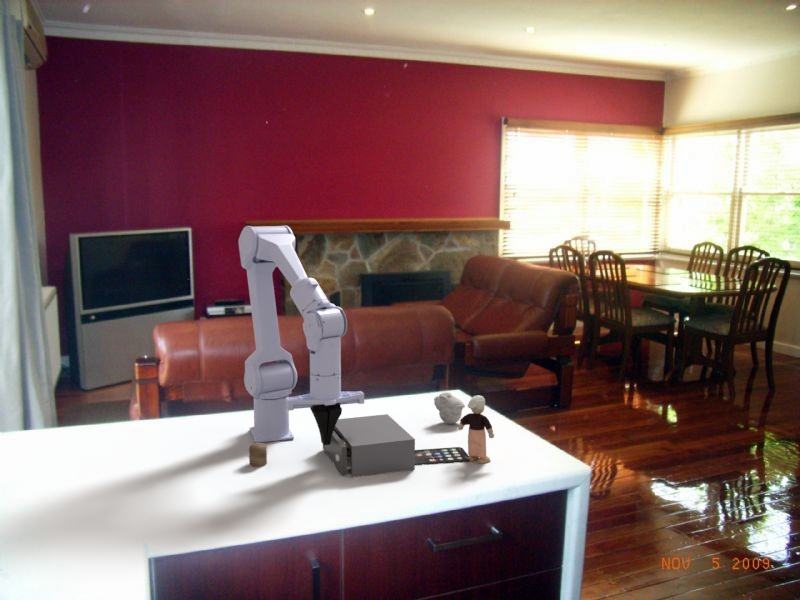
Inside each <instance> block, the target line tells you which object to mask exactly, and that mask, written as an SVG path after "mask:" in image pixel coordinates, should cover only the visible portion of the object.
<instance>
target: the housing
mask: <svg viewBox="0 0 800 600" xmlns="http://www.w3.org/2000/svg"><path fill="white" fill-rule="evenodd" d="M334 431H335V433H336V434H337V435H338V436H339V438H340V439H341V438H342V439H343V440H344V441H345V442H346V444H347V445H348V446H349V447H350V449H351V469H347V473H349V475H350V477H351V478H357V477H358V478H359V477H365V476H373V475H374V476H375V475H380V474H381V475H382V474H390V473H396V472H406V471H411V470H412V469H413V470H415V468H416V465H415V450H416V439H415V438H414V437H413V436H412V435H411V434H410V433H409V432H408V431H406V429H404V428H403V427H402V426H401V425H400V424H399V423H398V422H397V421H396V420H395V419H394V418H392V417H391V416H390V415H389V414H387V413H385V414H378V415H377V414H376V415H368V416H367V415H365V416H358V417H357V416H355V417H348V418H346V417H345V418H339V419H338V421H337V423H336V425H335V428H334Z"/></svg>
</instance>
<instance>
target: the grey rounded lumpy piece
mask: <svg viewBox="0 0 800 600" xmlns="http://www.w3.org/2000/svg"><path fill="white" fill-rule="evenodd" d="M433 401H434V402H433V403H434V406H435V408H436V409H437V410H438V411H439V417H440V419H441V421H442V422H444V423H445V424H448V425H454V424H456V423H458V422H460V420H461V419H462V415H463V413H462V411H463V409H464V408H465V407H466V406H465V405H466V404H465V403H464V402H463V401H462V400H461V399H459V398H457V397H456V396H454V395H453V394H452V393H451V392H446V391H445V392H441V393H440V394H439V395H437V396H435V397H434V398H433Z"/></svg>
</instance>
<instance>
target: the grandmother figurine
mask: <svg viewBox="0 0 800 600" xmlns="http://www.w3.org/2000/svg"><path fill="white" fill-rule="evenodd" d="M485 404H486V399H485V398H484V396H482V395H479V394H478V395H473V396H472V397H471V399H470V400H469V401H468V403H467V408H468V409H470V410H471V412H472V413H471V412H470V413H468V414H465V415H464V416H463V417H461V418H460V419H459V425H458V427H457V429H458V430H459V431H462V430H464V427H465V426H468V425H469V426H468V434H467V452H468V453H467V454H468V459H470V461H469V462H475V461H476V462H477V463H478V464H486V463H490V462H491V458H490V457H489V456H488V455H487V436H486V435H487V434H488V438H490V439H494V438H495V434H494V430H493V425H492V424H491V422H490V420H489V419H488V416H485V415H483V414H482V413H483V412H484V411H485V407H486V405H485ZM486 432H487V434H486Z"/></svg>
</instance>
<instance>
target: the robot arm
mask: <svg viewBox="0 0 800 600" xmlns="http://www.w3.org/2000/svg"><path fill="white" fill-rule="evenodd" d="M238 251H239V259H240V265H241V268H243V269H245V270H246V276H247V285H248V293H249V301H250V308H251V319H252V326H253V333H254V335H253V336H254V343H255V350H254V351H253V352H252V353H251V354H250V355H249V356H248V357H247V359H245V361H244V376H243V382H244V386H245V390H246V391H247V393H249V395H250V396H251V397H253V424H254V425H253V426H250V427H249V432H250V433H251V436H252V439H253V441H254V443H266V442H267V443H268V442H277V441H285V440H286V441H287V440H293V439H294V438H295V437H294V434H293V432H292V431H291V429H290V411H294V410H296V409H308V408H309V409H310V411H311V413H312V415H313V417H314V420H315V422H316V424H317V425H316V426H317V427H318V432H319V436H320V442H321V443H322V446H323V445H330V444H331V438H332V434H333V431H334V428H335V425H336V423H337V421H338V419H340V416H341V415H342V412H343V410H342V409H343V408H342V407H341V406H342V405H349V404H350V405H353V404H359V405H361V404H363V405H364V404H365V393H364V392H363V391H362V390H358V391H342V378H341V377H342V363H341V360H342V358H341V357H342V353H341V352H342V351H341V349H342V347H341V346H342V345H341V342H342V341H341V339H342V338H343V337H344V336H345V335H346V333H347V331H348V319H347V316H346V313H345V312H344V309H343V308H342V307H341V306H338V305H337V306H336V305H335V304H334V303H331V302H330V300H329V299H328V297H327V295H326V294H325V292H324V290H323V289H322V287H321V286H320V283H319V282H318V281H317V280H316V279H315V278H313V277H308V276H307V273H306V271H305V269H304V267H303V264H302V263H301V261H300V258H299V257H298V254H297V252H296V237H295V235H294V232H293V231H292V229H291V227H290V226H288V225H285V224H284V225H276V226H275V225H274V226H273V225H272V226H267V225H265V226H264V225H263V226H252V225H245V226H244V227H243V229H242V231H241V232H240V235H239V238H238ZM275 268H278V270H279V271H280V272H281V274H282V275H283V276H284V278H285V279H286V280H287V282H288V284H289V285H290V286H291V288H290V290H289V296H290V298H291V299H292V301H293V303H294V304H295V306H296V308H297V310H298V312H299V313H300V315H301V317H302V318H303V323H302V330H303V334H304V335H305V339H306V347H307V349H308V350H309V393H307V394H302V395H301V394H300V395H296V396H289V395H291V394H292V391H293V389H294V388H295V387H296V384H298V383H297V382H298V372H297V369H296V367H295V363H294V359H293V355H292V354H291V353H290V352H289V351H288V350H285V349H284V348H283V347H281V338H280V330H279V319H278V313H277V305H276V297H275V296H276V295H275V289H274V288H275V286H274V281H273V272H274V271H275ZM271 362H273V363H271ZM265 363H266V364H265Z"/></svg>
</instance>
